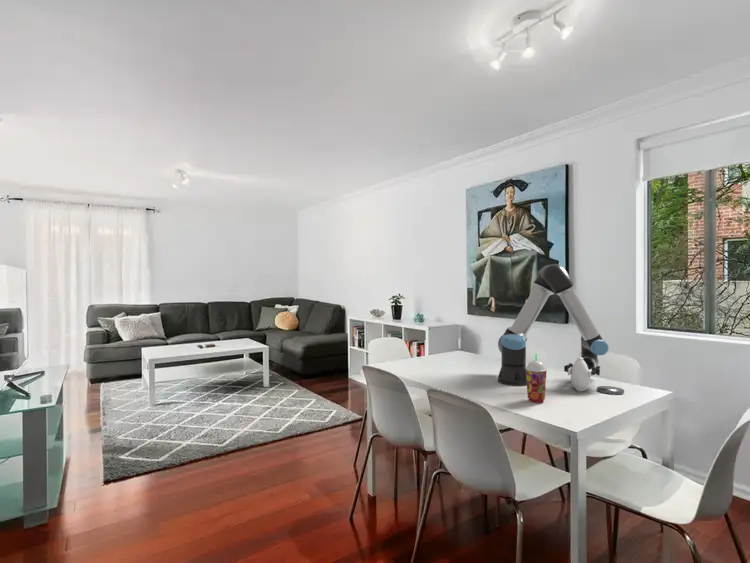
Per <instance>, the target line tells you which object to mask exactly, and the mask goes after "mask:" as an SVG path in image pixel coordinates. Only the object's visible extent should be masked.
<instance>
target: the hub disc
mask: <svg viewBox="0 0 750 563" xmlns="http://www.w3.org/2000/svg"><path fill="white" fill-rule="evenodd" d="M596 391H597V392H599V393H600V394H601V393H602V394H606V395H617V396H618V395H624V394H625V390H624V389H623V388H622V387H617V386H611V385H598V386H596Z"/></svg>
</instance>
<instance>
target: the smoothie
mask: <svg viewBox="0 0 750 563" xmlns="http://www.w3.org/2000/svg"><path fill="white" fill-rule="evenodd" d="M534 355H535V357H534V360H532V361H529V363H528V364H526V380H527V385H526V390H527V391H526V394H527V399H528V401H529V402H531V403H534V404H542V403H543V402H544V400H546V387H547V385H546V382H547V368H546V366H545V364H544V363H543V362H541V361H540V360H538V355H537V353H536V354H534Z"/></svg>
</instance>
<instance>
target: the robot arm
mask: <svg viewBox="0 0 750 563" xmlns="http://www.w3.org/2000/svg"><path fill="white" fill-rule="evenodd" d="M552 295H557V296H559V298H560V300H561V302H562V303H563V305H564V308H566V310H567V312H568V314H569V316H570V318H571V319H572V321H573V323H574V325H575V326H576V328H577V330H578V331H579V333H580V344H581V345H580V354H581V358H583V360H584V361H585V363H586V364H587V367H588V369H589V371H588V378H590V379H591V377H592V376H594V375H595V376H596V375H597V376H600V373H601V366H600V365H599V358H598V356H604V355H606V354H607V353H608V352H609V348H610V347H609V344H608V343H607V342H606V341H605V340H604V339H603V338H602V336H601V334H600V332H599V331H598V328H597V327H596V325H595V323H594V321H593V320H592V318H591V316H590V314H589V313H588V311H587V310H586V308H585V306H584V304H583V303H582V301H581V298H580V297H579V295H578V293H577V292H576V290H575V284H574V282H573V280H572V279H571V276H570V275H569V273H568V271H567V270H566V268H565V267H564V266H563V265H560V264H558V263H554V264H547V265H544V266H543V267H541V268H540V269H539V270H538V272H537V276H536V278H535V280H534V281H533V289H532V290H531V293H530V294H529V296H528V298H527V299H526V301H525V303H524V305H523V306H522V308H521V309H520V311H519V313H518V314H517V316H516V318H515V320H514V322H513V323H512V325H511V326H509V327H506V330H504V333H503V334H502V335H501V336H500V337H499V339H498V340H497V341H498V342H497V347H498V350H499V352H500V353H501V367H500V370H499V373H498V376H497V382H498V383H500V384H503V385H507V386H516V387H517V386H518V387H521V386H527V380H526V367H527V350H526V348H527V341H528V336H527V334H528V333H529V331H530V329H531V328H532V326H533V324H534V323H535V321H536V319H537V318H538V316H539V314H540V312H541V311H542V309H543V307H544V306H545V304H546V303H547V301H548V299H549V297H550V296H552ZM573 365H574V363H572V362H570V363H569V364H566V365H564V369H563V371H564V372H566V373H567V376H571V371H572V367H573Z"/></svg>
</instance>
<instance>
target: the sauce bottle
mask: <svg viewBox="0 0 750 563" xmlns="http://www.w3.org/2000/svg"><path fill="white" fill-rule="evenodd" d="M588 371H589V369H588V367H587V364H586V363H585V361H584V360H583V358H581V353H579V357H577V358H576V360H575V361H574V363H573V367H572V371H571V374H570V382H571V385H572V386H573V388H575V389H576V391H578V392H584V391H585V390H587V389H588V388H589V385H590V384H591V382H590V381H591V377H590V378H588Z"/></svg>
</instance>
